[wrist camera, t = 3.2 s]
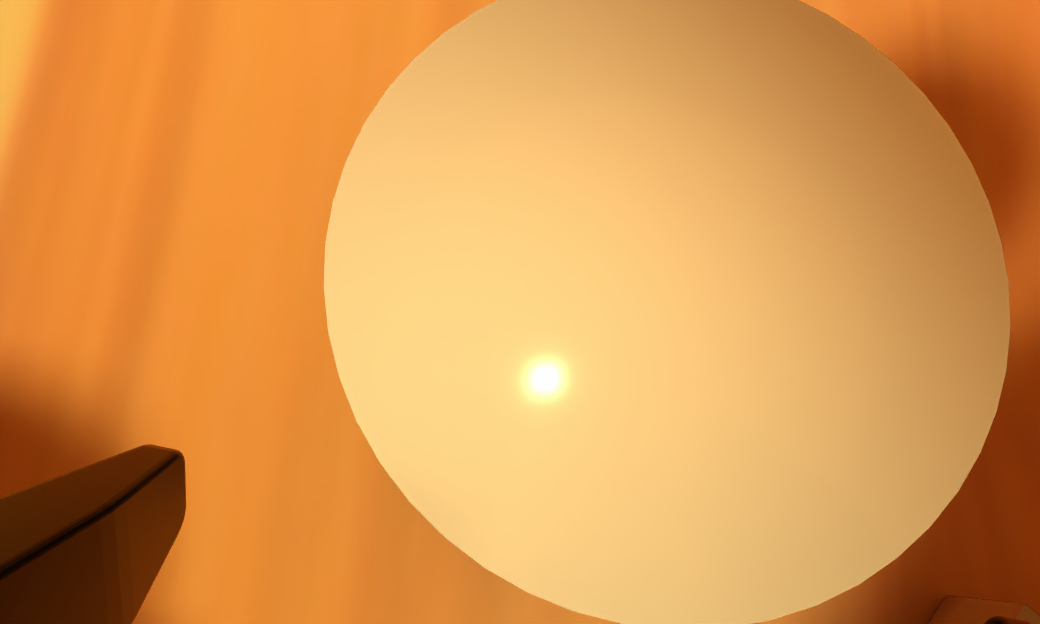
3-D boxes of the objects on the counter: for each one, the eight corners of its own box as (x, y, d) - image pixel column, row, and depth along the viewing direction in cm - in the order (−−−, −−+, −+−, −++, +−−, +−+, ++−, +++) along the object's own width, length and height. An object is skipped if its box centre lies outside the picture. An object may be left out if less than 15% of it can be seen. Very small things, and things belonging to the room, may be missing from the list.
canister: (557, 626, 20) (747, 803, 6) (367, 460, 21) (173, 297, 7) (708, 432, 21) (1132, 233, 8) (525, 282, 22) (616, -143, 8)
